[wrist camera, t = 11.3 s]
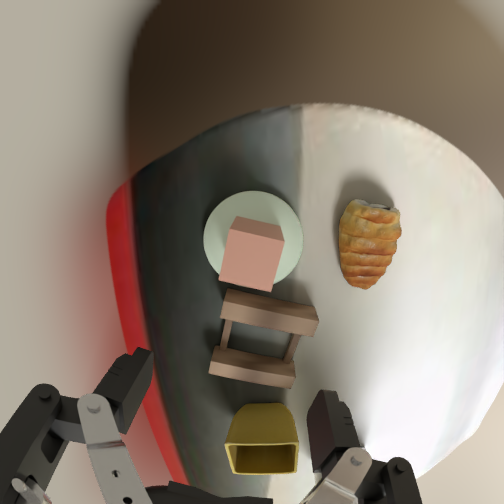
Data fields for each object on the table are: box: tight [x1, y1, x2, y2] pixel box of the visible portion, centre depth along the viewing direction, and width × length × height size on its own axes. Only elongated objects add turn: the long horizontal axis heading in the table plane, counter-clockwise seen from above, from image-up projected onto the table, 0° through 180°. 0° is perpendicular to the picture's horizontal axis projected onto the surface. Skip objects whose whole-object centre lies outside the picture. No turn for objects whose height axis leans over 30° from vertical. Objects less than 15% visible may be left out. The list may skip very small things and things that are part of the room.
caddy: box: [209, 288, 319, 389], centre depth 31 cm, size 10×10×3 cm
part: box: [219, 216, 285, 292], centre depth 25 cm, size 4×4×6 cm
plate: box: [204, 191, 303, 288], centre depth 29 cm, size 10×10×1 cm
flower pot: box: [224, 403, 299, 475], centre depth 33 cm, size 9×9×9 cm
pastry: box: [339, 199, 402, 289], centre depth 27 cm, size 9×7×4 cm
